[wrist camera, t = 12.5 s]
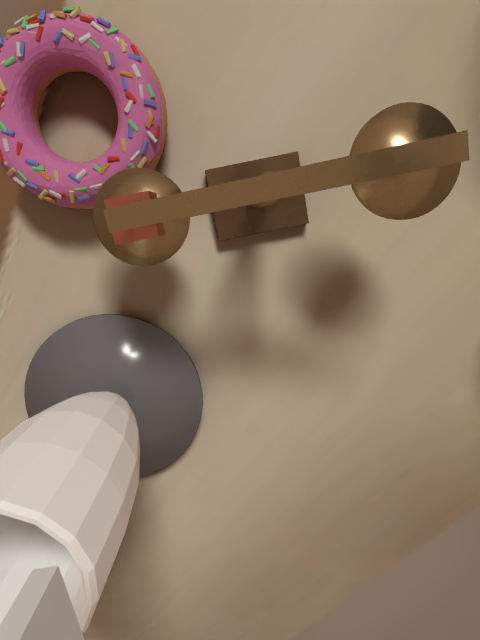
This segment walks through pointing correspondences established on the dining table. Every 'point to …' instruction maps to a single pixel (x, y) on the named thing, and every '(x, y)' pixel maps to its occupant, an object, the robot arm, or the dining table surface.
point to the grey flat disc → (123, 379)
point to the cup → (68, 496)
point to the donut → (53, 61)
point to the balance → (286, 187)
